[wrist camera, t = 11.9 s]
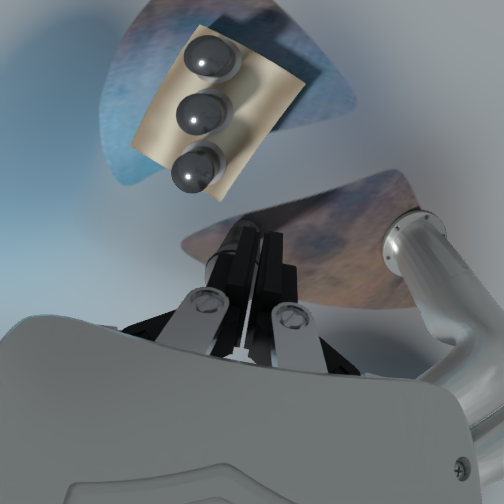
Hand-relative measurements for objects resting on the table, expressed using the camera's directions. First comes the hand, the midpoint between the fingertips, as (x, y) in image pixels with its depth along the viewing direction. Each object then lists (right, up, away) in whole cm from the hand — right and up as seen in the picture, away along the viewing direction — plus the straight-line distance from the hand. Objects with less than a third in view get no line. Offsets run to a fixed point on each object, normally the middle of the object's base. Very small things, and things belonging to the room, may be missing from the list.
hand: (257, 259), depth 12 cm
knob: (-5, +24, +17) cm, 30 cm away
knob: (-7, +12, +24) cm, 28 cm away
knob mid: (-6, +18, +20) cm, 28 cm away
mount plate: (-5, +20, +23) cm, 31 cm away
